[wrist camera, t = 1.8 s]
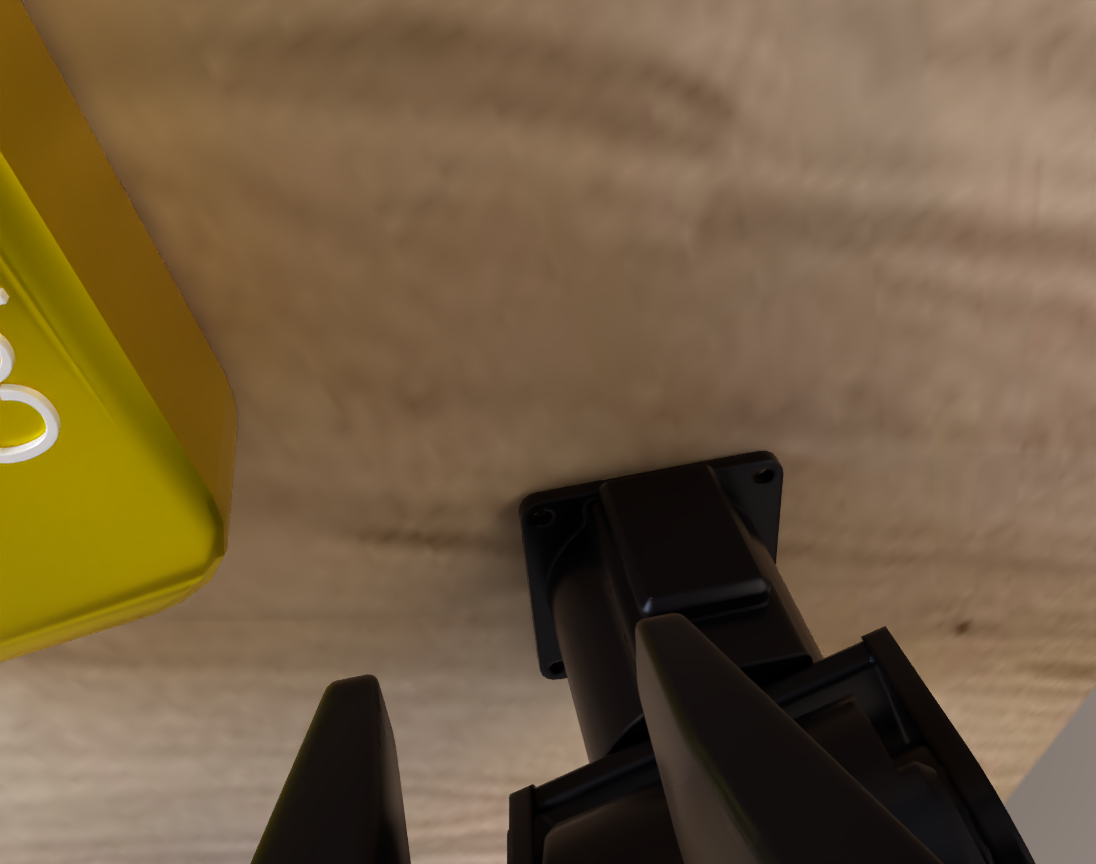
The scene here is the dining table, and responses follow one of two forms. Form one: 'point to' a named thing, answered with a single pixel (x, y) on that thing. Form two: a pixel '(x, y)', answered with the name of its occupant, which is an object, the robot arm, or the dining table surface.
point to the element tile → (94, 384)
